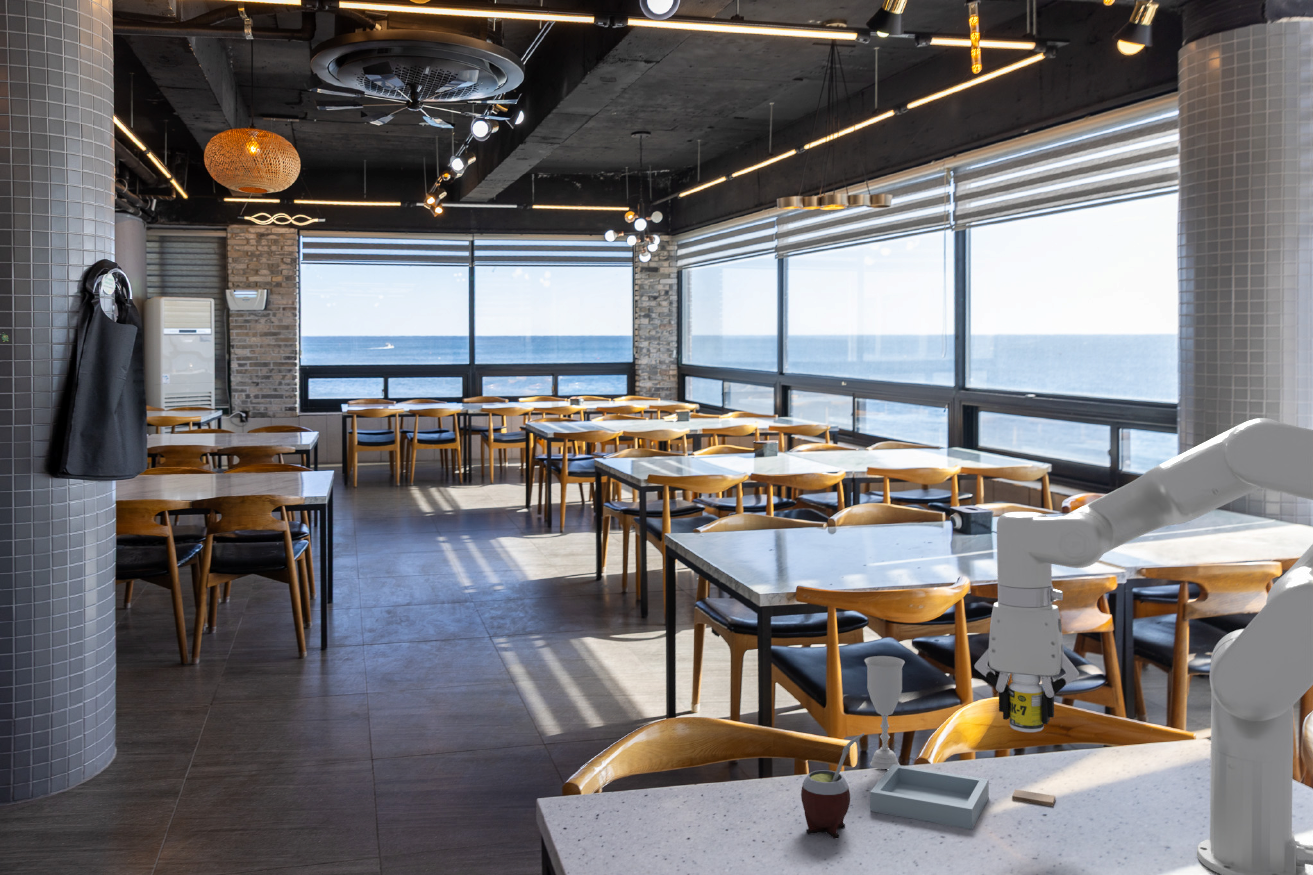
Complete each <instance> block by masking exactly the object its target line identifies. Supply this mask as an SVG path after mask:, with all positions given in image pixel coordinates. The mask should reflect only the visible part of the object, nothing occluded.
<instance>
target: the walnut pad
mask: <svg viewBox="0 0 1313 875" xmlns="http://www.w3.org/2000/svg"><path fill="white" fill-rule="evenodd" d="M1012 799H1013V800H1012ZM1011 800H1012V801H1017V802H1023V803H1030V804H1036V805H1041V804H1042V806H1048V807H1054V804H1055V801H1056V795H1054V794H1053V795H1052V794H1045V793H1039V792H1033V791H1029V790H1028V791H1027V790H1021V789H1014V791H1013V794H1012V796H1011Z"/></svg>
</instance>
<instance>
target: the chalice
mask: <svg viewBox="0 0 1313 875" xmlns="http://www.w3.org/2000/svg"><path fill="white" fill-rule="evenodd" d="M863 661H864V663H865V665H866V667H867V672H866V673H867V682H866V684H867V688H866V689H867V691H868V695H869V697H870V701H871V703H872V705H873V707H874V709H875V711H876V713H877V714H878V715H880V716H881V719H882V720H881V724H880V728H881V734H880V736H879V738H880V739H881V743H882V744H881V747H880V748H879V749H876V750H875V752H874V753H873V756H872V759H871V761H870V762H869V763H870V764H869V765H870V766H871V767H872V768H875V769H878V770H881V769H890V767H891V766H892V765H893V764H895V765H900V762H899V760H898V758H897V755H896V753H895V751H894V750H893V749H890V748H889V745H888V742H889V739H890V738H891V736H890V735H889V732H888V730H889V728H890V725H889V721H888V718H889V717H888V716H889V715H893V714H894V711H895V709H896V707H897V705H898V703H899V700H900V698H901V695H902V691H903V666H904V665H905V663H906V662H905V660H904V659H902V658H899V657H895V656H891V655H890V656H888V655H877V656H876V655H875V656H874V655H873V656H869V657H866V658H864V660H863Z"/></svg>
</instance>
